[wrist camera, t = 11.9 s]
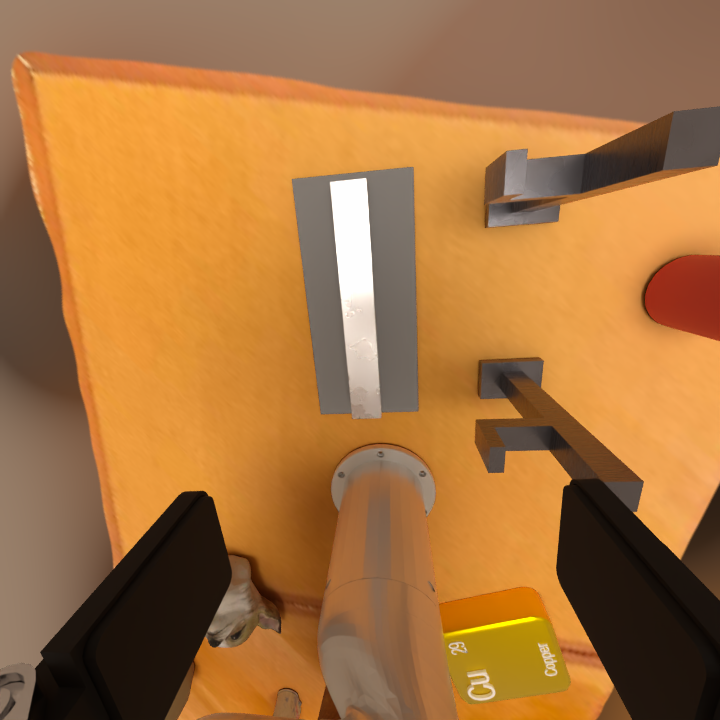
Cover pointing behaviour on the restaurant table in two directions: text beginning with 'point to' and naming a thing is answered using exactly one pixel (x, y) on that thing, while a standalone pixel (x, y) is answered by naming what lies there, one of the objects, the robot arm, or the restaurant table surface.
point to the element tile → (502, 647)
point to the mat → (391, 284)
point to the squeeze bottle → (181, 696)
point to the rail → (357, 294)
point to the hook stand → (541, 205)
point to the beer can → (687, 295)
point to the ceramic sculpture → (241, 609)
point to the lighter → (287, 704)
